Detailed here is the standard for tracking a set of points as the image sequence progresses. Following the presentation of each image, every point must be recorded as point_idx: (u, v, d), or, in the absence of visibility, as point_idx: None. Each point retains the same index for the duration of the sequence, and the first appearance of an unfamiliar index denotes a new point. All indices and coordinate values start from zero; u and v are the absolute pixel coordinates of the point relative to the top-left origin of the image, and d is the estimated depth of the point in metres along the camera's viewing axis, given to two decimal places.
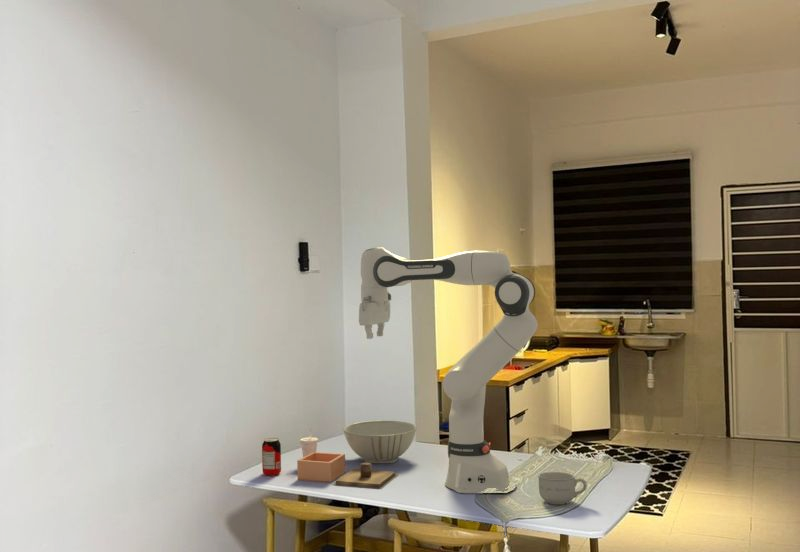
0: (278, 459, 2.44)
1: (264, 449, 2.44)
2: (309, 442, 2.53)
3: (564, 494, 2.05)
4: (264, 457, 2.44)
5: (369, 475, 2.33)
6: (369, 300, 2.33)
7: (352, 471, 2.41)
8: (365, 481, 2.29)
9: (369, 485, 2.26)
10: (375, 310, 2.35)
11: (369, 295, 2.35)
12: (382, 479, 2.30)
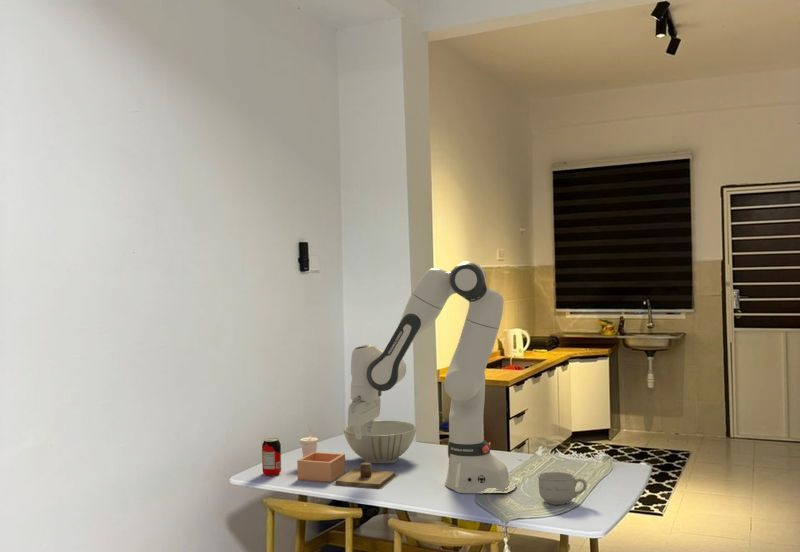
0: (278, 459, 2.44)
1: (264, 449, 2.44)
2: (309, 442, 2.53)
3: (564, 494, 2.05)
4: (264, 457, 2.44)
5: (369, 475, 2.33)
6: (359, 400, 2.29)
7: (352, 471, 2.41)
8: (365, 481, 2.29)
9: (369, 485, 2.26)
10: (364, 409, 2.31)
11: (359, 394, 2.31)
12: (382, 479, 2.30)
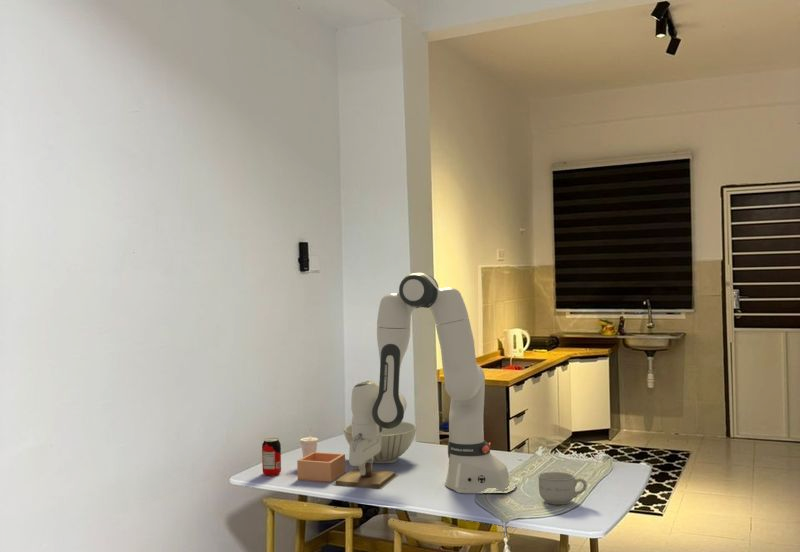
0: (278, 459, 2.44)
1: (264, 449, 2.44)
2: (309, 442, 2.53)
3: (564, 494, 2.05)
4: (264, 457, 2.44)
5: (369, 475, 2.33)
6: (360, 438, 2.29)
7: (352, 471, 2.41)
8: (365, 481, 2.29)
9: (369, 485, 2.26)
10: (366, 447, 2.31)
11: (360, 432, 2.31)
12: (382, 479, 2.30)
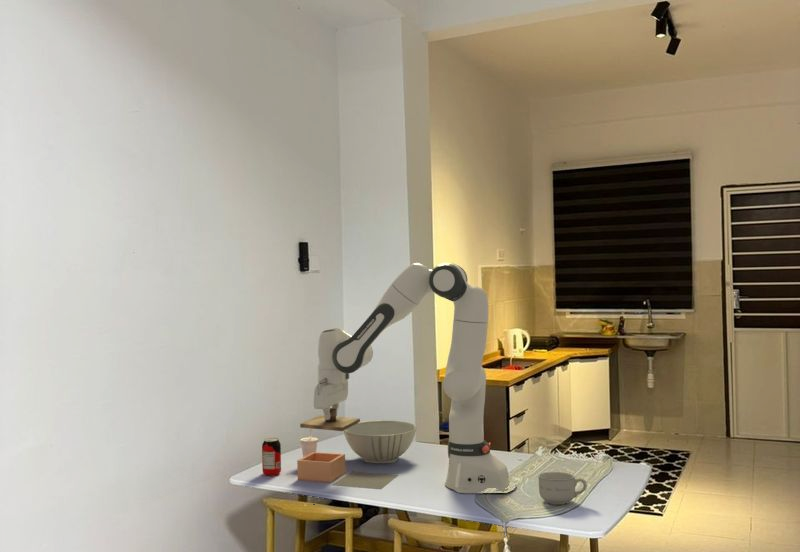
0: (278, 459, 2.44)
1: (264, 449, 2.44)
2: (309, 442, 2.53)
3: (564, 494, 2.05)
4: (264, 457, 2.44)
5: (334, 420, 2.37)
6: (325, 382, 2.33)
7: (318, 417, 2.45)
8: (329, 425, 2.32)
9: (332, 428, 2.30)
10: (331, 391, 2.35)
11: (325, 377, 2.34)
12: (346, 424, 2.34)
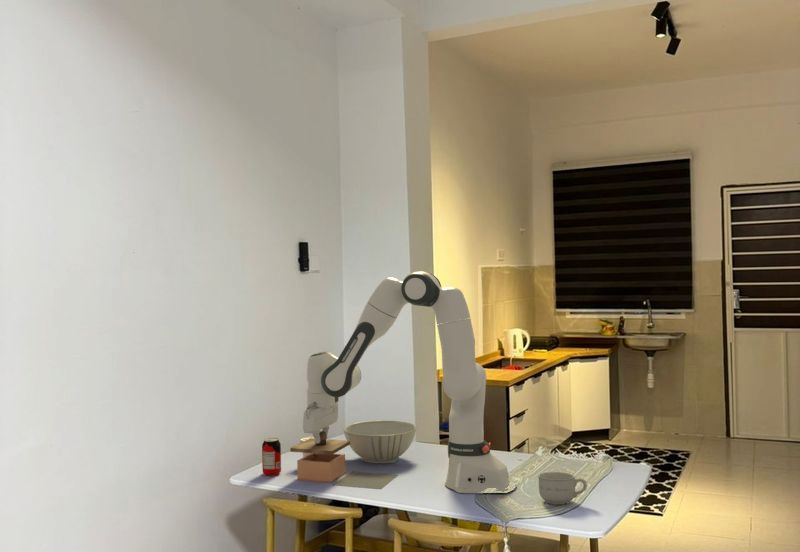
0: (278, 459, 2.44)
1: (264, 449, 2.44)
2: None
3: (564, 494, 2.05)
4: (264, 457, 2.44)
5: (324, 443, 2.39)
6: (314, 406, 2.35)
7: (308, 440, 2.46)
8: (319, 448, 2.34)
9: (322, 452, 2.32)
10: (320, 415, 2.36)
11: (314, 401, 2.36)
12: (336, 447, 2.36)
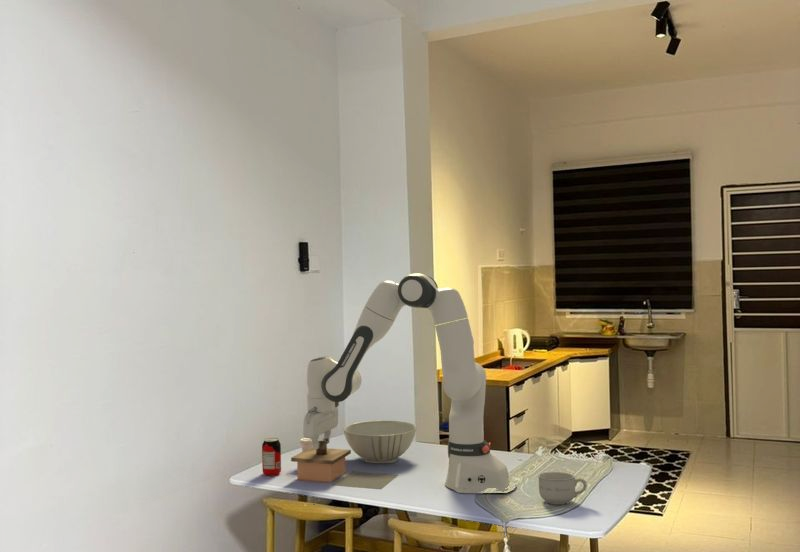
0: (278, 459, 2.44)
1: (264, 449, 2.44)
2: (309, 442, 2.53)
3: (564, 494, 2.05)
4: (264, 457, 2.44)
5: (324, 452, 2.39)
6: (314, 411, 2.35)
7: (309, 449, 2.46)
8: (319, 458, 2.34)
9: (323, 462, 2.31)
10: (320, 420, 2.36)
11: (314, 406, 2.36)
12: (336, 456, 2.36)
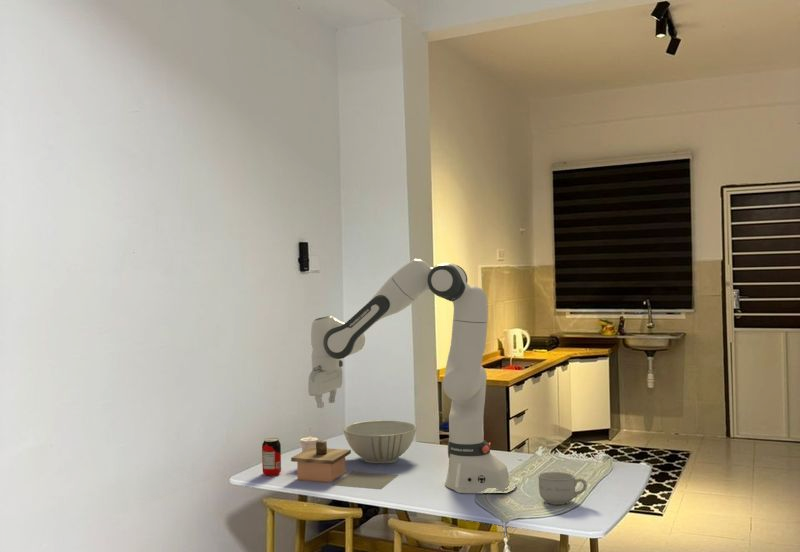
0: (278, 459, 2.44)
1: (264, 449, 2.44)
2: (309, 442, 2.53)
3: (564, 494, 2.05)
4: (264, 457, 2.44)
5: (324, 452, 2.39)
6: (319, 370, 2.36)
7: (309, 449, 2.46)
8: (319, 458, 2.34)
9: (323, 462, 2.31)
10: (325, 378, 2.37)
11: (319, 364, 2.37)
12: (336, 456, 2.36)
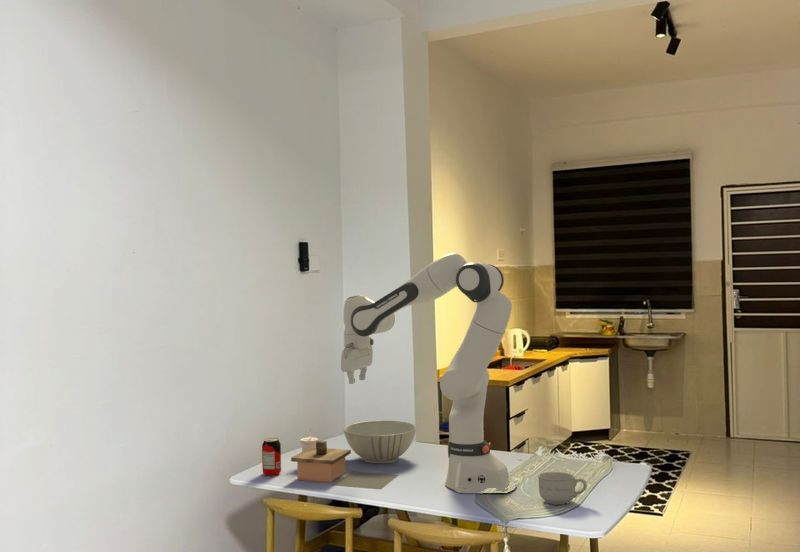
0: (278, 459, 2.44)
1: (264, 449, 2.44)
2: (309, 442, 2.53)
3: (564, 494, 2.05)
4: (264, 457, 2.44)
5: (324, 452, 2.39)
6: (351, 347, 2.42)
7: (309, 449, 2.46)
8: (319, 458, 2.34)
9: (323, 462, 2.31)
10: (357, 356, 2.44)
11: (351, 342, 2.43)
12: (336, 456, 2.36)
